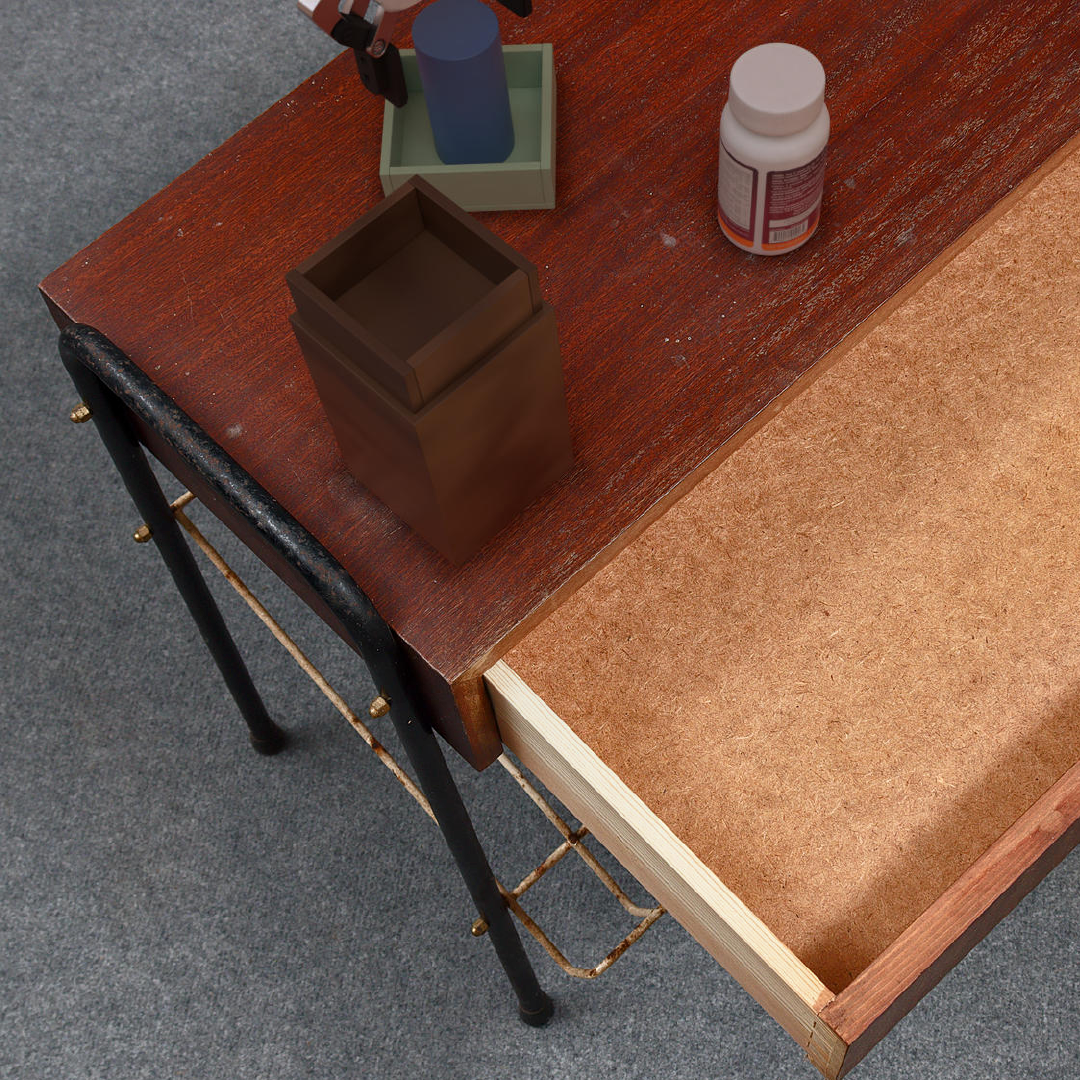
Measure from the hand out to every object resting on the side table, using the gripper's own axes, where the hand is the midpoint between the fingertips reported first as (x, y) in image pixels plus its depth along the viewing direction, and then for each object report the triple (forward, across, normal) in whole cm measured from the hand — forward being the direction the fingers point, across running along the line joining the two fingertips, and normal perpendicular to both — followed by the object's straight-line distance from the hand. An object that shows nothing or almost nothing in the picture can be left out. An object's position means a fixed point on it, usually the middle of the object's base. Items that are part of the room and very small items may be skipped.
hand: (449, 48), depth 84 cm
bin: (+8, -1, 0) cm, 8 cm away
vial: (+8, -1, 0) cm, 8 cm away
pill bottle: (+8, -9, +17) cm, 21 cm away
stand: (+9, +16, +17) cm, 25 cm away
